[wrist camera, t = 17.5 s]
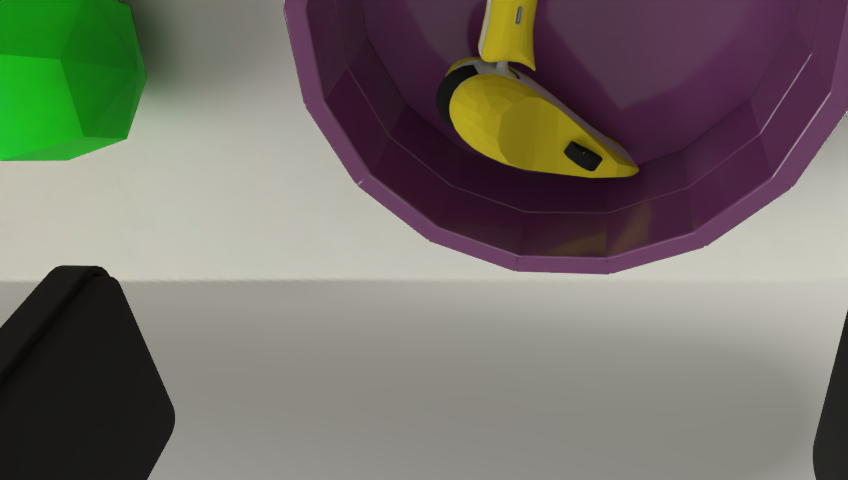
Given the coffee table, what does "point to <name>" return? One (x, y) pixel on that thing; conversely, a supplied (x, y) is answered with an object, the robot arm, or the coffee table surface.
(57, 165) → the coffee table surface
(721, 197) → the bowl
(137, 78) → the apple
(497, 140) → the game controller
